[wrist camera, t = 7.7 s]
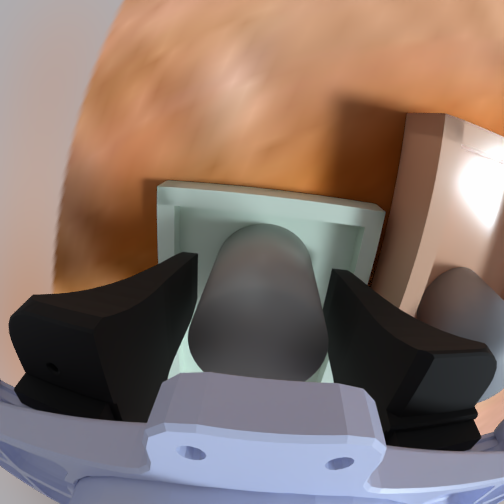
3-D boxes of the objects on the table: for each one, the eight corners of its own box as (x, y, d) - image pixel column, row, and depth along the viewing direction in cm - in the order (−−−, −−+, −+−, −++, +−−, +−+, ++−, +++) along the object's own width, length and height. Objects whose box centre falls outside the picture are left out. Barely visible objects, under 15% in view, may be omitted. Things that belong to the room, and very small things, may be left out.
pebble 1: (302, 312, 14) (312, 397, 9) (214, 303, 14) (189, 384, 9) (318, 229, 12) (343, 296, 8) (218, 218, 12) (186, 279, 8)
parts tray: (318, 401, 17) (320, 416, 16) (175, 385, 17) (170, 400, 16) (376, 203, 12) (385, 212, 11) (167, 180, 12) (157, 186, 11)
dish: (480, 340, 15) (503, 374, 12) (353, 340, 15) (366, 385, 12) (540, 165, 10) (580, 180, 7) (406, 113, 10) (445, 113, 7)
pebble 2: (457, 338, 14) (496, 401, 9) (403, 330, 14) (440, 405, 9) (491, 275, 12) (546, 331, 8) (439, 259, 12) (499, 323, 8)
